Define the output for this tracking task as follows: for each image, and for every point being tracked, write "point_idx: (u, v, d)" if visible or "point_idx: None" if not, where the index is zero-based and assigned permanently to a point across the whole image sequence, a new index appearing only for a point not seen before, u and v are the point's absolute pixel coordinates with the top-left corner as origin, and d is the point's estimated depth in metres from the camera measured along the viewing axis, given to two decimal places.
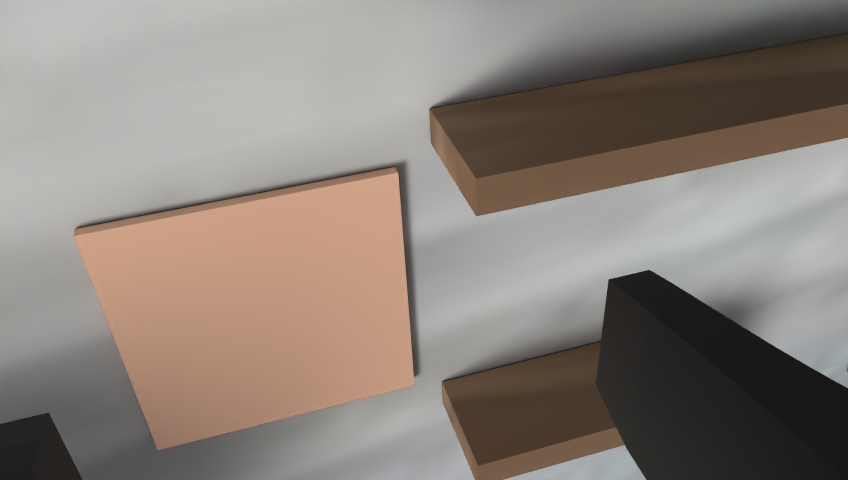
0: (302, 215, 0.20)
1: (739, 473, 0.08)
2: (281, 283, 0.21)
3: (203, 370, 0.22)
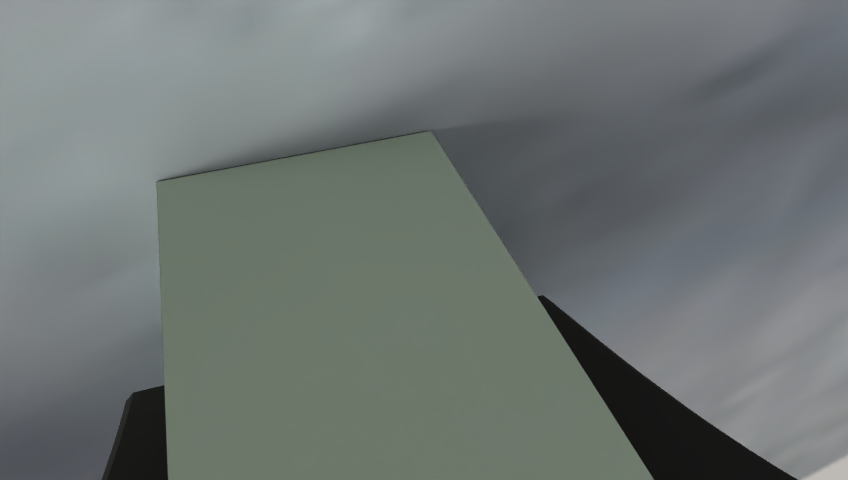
0: None
1: None
2: None
3: None
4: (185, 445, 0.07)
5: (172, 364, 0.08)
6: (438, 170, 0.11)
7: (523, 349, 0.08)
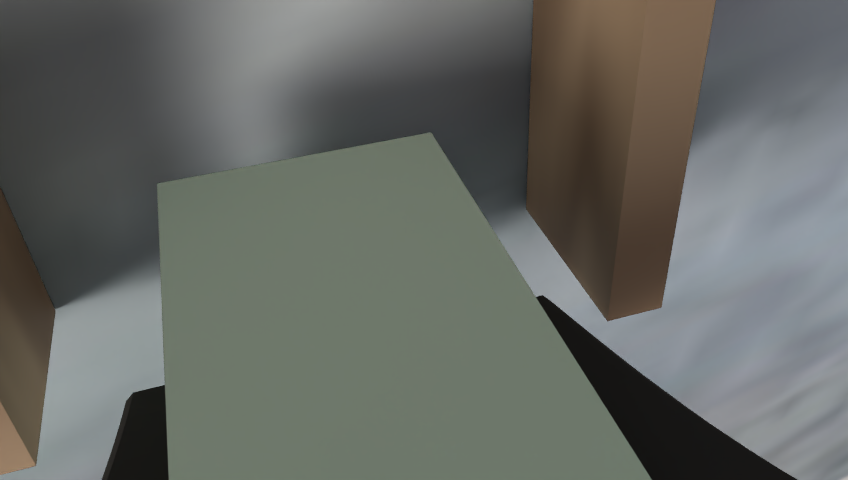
0: None
1: None
2: None
3: None
4: (186, 446, 0.07)
5: (173, 365, 0.08)
6: (438, 172, 0.11)
7: (523, 350, 0.08)
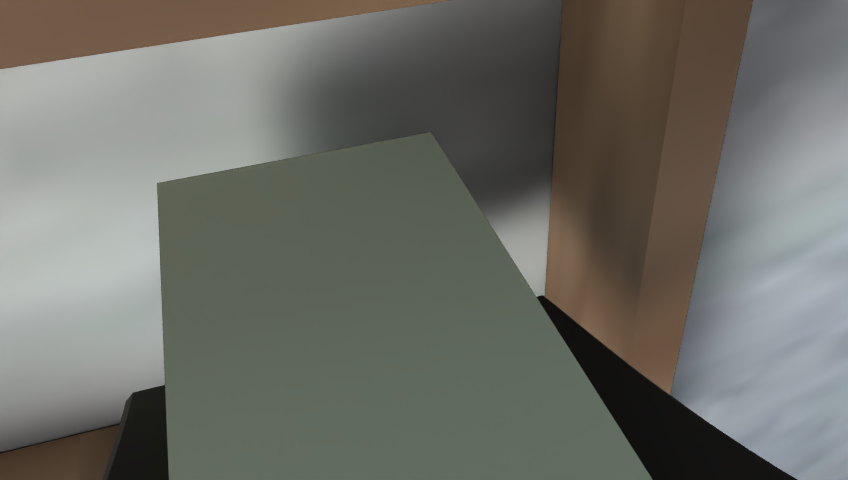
0: None
1: None
2: None
3: None
4: (186, 446, 0.07)
5: (173, 365, 0.08)
6: (438, 171, 0.11)
7: (523, 350, 0.08)
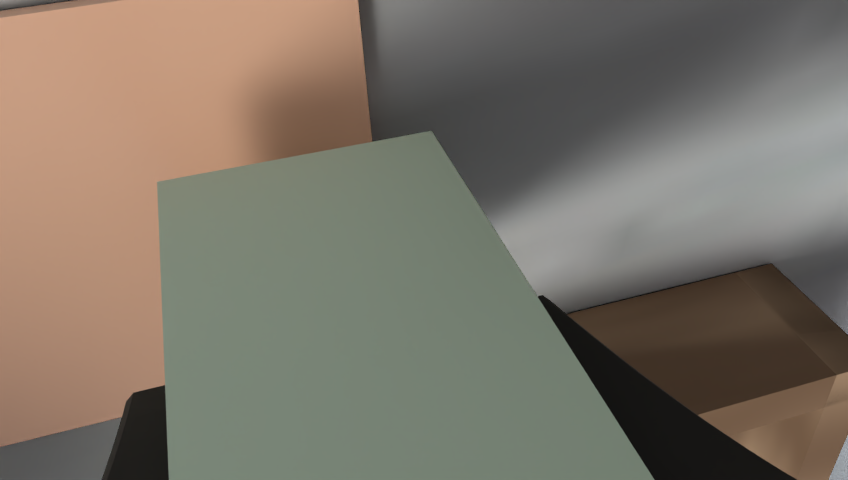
0: (187, 40, 0.12)
1: None
2: (163, 170, 0.13)
3: (44, 319, 0.14)
4: (185, 445, 0.07)
5: (172, 364, 0.08)
6: (438, 170, 0.11)
7: (523, 348, 0.08)
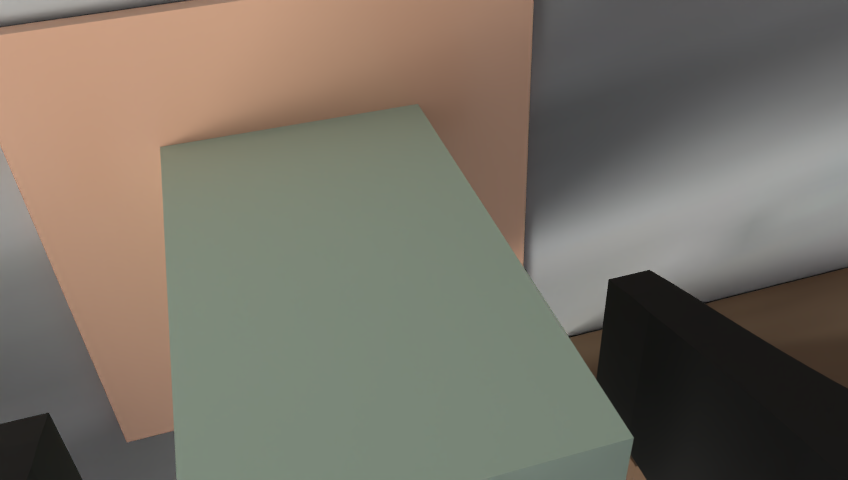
0: (369, 31, 0.12)
1: (739, 473, 0.08)
2: None
3: None
4: (187, 369, 0.08)
5: (175, 302, 0.09)
6: (423, 138, 0.12)
7: (496, 290, 0.09)
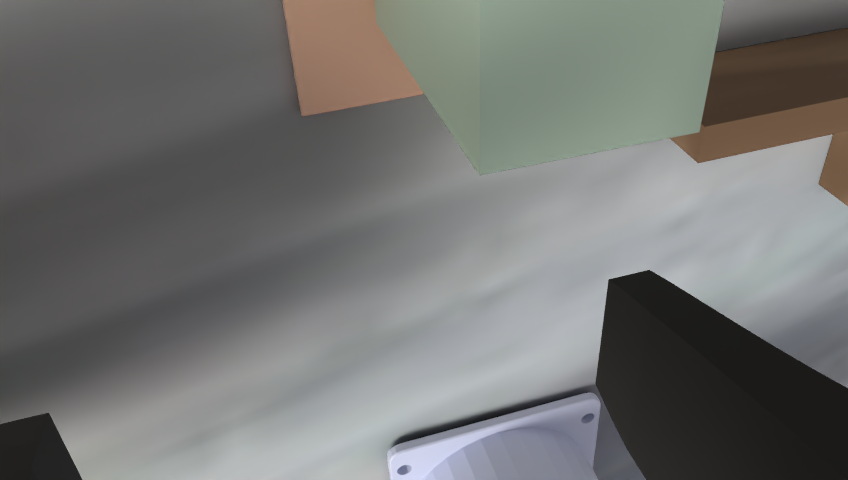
0: None
1: (740, 473, 0.08)
2: None
3: None
4: None
5: None
6: None
7: None
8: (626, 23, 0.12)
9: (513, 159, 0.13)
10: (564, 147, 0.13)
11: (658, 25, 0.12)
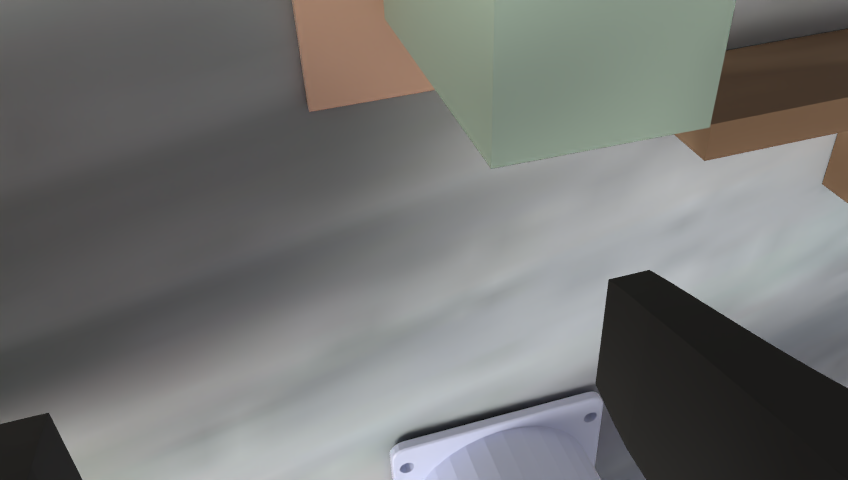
0: None
1: (739, 473, 0.08)
2: None
3: None
4: None
5: None
6: None
7: None
8: (639, 17, 0.12)
9: (525, 152, 0.13)
10: (575, 141, 0.13)
11: (670, 19, 0.12)
